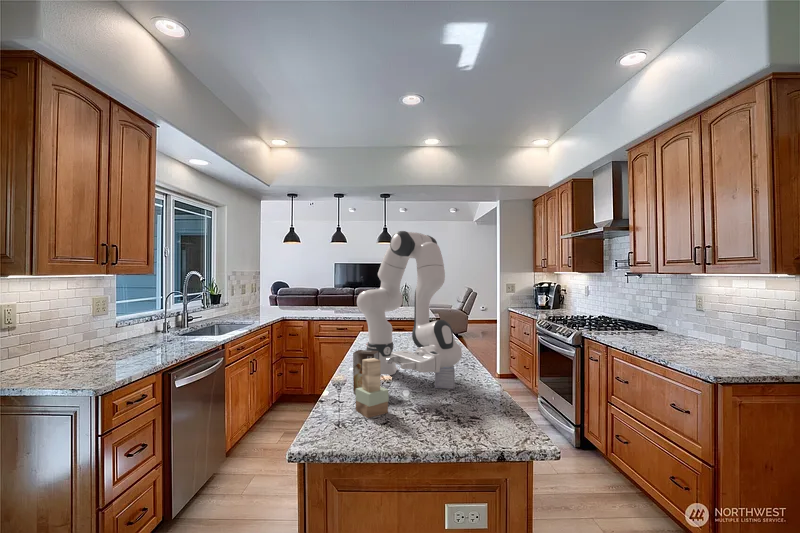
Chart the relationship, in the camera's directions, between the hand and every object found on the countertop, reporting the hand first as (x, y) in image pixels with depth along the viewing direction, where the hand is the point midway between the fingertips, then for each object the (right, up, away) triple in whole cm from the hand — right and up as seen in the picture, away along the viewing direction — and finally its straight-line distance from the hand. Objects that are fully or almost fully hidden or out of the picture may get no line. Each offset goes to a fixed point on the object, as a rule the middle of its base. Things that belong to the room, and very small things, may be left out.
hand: (393, 363), depth 142 cm
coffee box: (-11, -15, +15) cm, 24 cm away
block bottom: (-7, -15, -5) cm, 18 cm away
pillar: (-8, -7, -6) cm, 12 cm away
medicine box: (+20, -15, +22) cm, 34 cm away
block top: (-7, -11, -5) cm, 15 cm away
